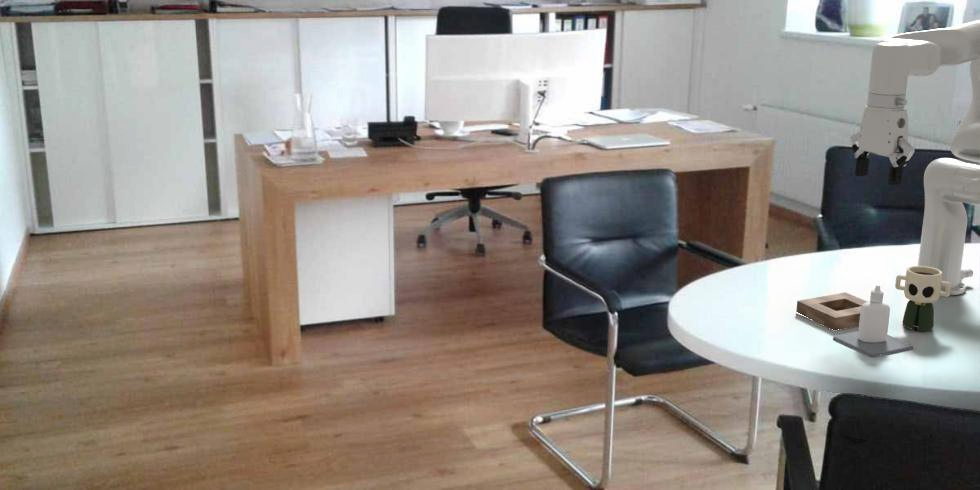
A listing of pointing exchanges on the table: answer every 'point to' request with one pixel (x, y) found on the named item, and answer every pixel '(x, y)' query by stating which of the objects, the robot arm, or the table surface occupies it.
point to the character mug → (921, 295)
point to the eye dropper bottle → (874, 318)
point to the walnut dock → (833, 310)
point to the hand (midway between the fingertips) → (877, 179)
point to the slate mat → (873, 344)
